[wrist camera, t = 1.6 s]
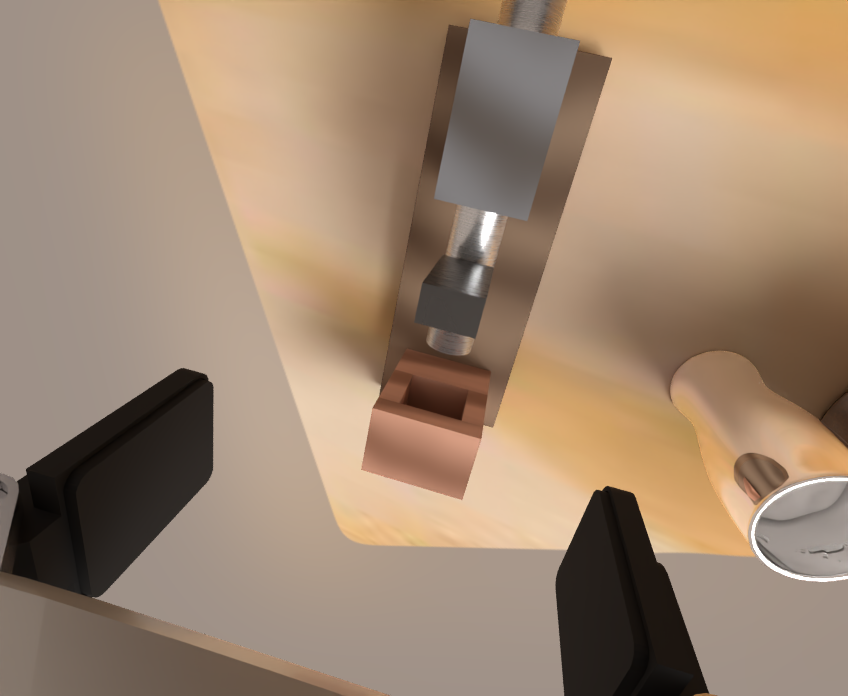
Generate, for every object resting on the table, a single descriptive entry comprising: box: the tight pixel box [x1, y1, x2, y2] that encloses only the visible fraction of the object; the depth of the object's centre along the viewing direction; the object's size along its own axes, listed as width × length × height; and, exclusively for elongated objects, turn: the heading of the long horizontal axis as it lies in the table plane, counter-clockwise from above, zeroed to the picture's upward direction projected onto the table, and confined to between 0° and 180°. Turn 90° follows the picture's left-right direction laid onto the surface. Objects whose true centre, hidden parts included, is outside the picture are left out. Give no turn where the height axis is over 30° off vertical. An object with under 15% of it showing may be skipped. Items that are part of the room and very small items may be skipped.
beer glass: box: [670, 351, 848, 582], centre depth 29 cm, size 7×7×15 cm
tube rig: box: [361, 19, 612, 500], centre depth 30 cm, size 27×10×11 cm, turn 168°
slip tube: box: [414, 0, 567, 356], centre depth 24 cm, size 19×3×9 cm, turn 168°
